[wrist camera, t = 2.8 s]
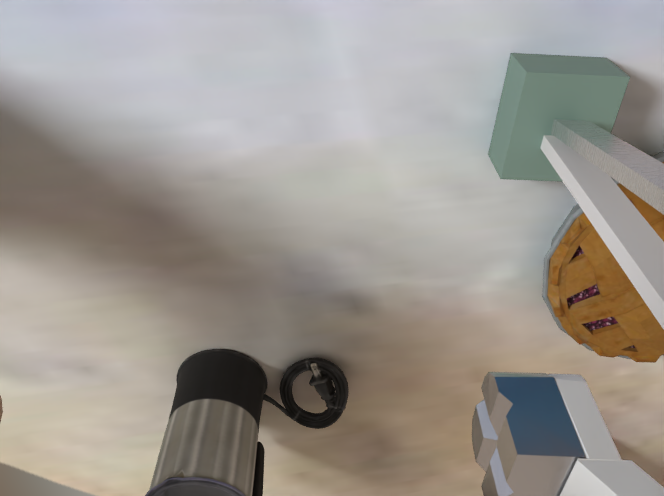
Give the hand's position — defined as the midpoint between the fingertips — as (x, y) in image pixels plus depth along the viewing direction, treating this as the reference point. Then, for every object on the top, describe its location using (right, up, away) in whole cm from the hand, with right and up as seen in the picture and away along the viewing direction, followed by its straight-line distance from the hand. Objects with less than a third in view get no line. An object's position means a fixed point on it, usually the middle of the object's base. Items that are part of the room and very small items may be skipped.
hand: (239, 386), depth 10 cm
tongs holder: (+18, +13, +36) cm, 42 cm away
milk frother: (-6, -11, +52) cm, 54 cm away
